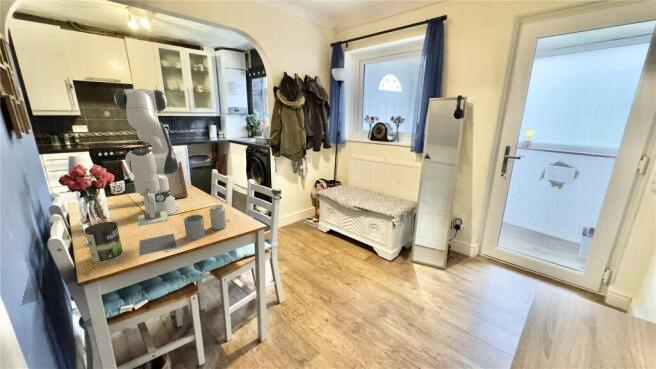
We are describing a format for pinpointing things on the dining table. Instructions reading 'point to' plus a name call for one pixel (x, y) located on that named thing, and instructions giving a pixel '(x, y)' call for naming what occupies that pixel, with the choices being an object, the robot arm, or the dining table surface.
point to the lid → (147, 220)
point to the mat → (157, 244)
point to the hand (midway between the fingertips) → (152, 215)
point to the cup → (194, 227)
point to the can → (217, 217)
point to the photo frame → (177, 183)
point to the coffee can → (104, 241)
